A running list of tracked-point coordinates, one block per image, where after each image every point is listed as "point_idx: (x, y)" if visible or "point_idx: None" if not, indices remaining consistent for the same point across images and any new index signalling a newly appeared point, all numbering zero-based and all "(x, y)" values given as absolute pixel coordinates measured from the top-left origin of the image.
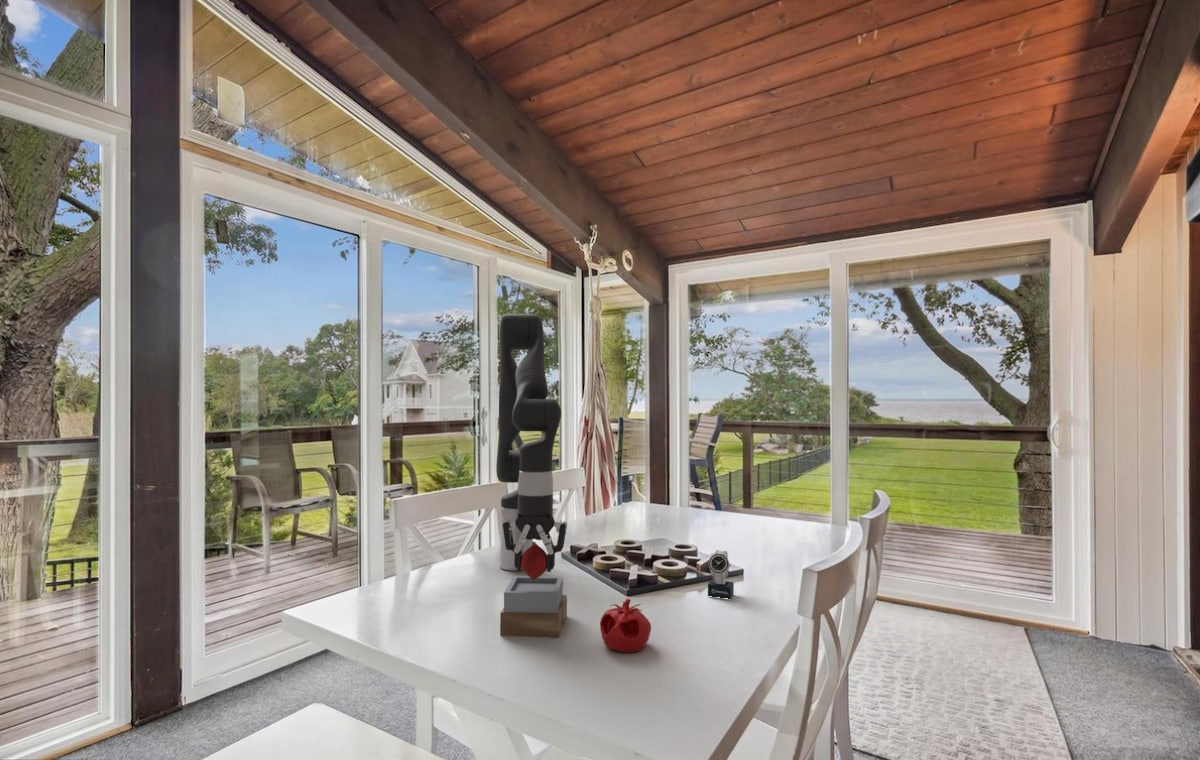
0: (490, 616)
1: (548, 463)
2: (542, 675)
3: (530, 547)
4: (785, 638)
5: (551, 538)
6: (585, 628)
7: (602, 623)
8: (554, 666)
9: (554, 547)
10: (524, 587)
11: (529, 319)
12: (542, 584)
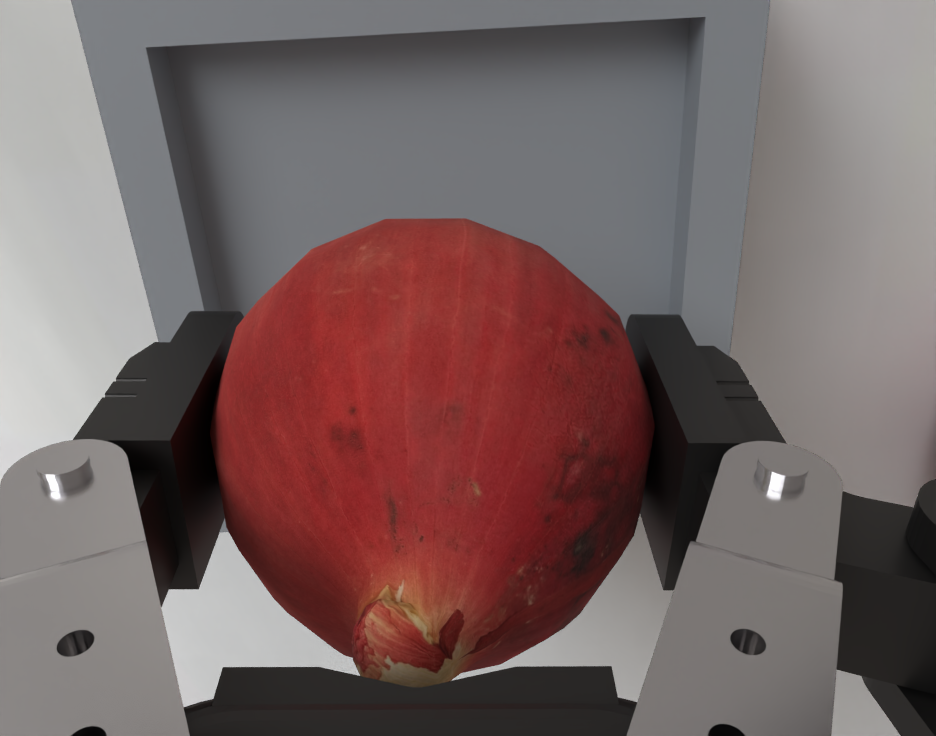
0: (23, 8)
1: None
2: None
3: (347, 631)
4: None
5: (837, 604)
6: (843, 177)
7: None
8: (645, 639)
9: (839, 661)
10: (317, 225)
11: None
12: (503, 95)
